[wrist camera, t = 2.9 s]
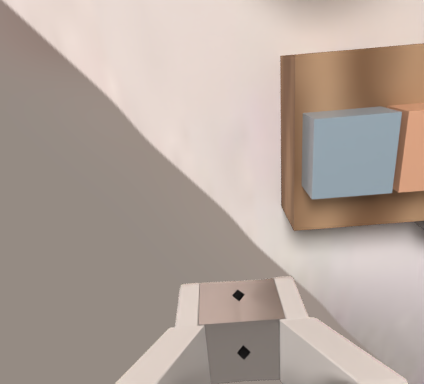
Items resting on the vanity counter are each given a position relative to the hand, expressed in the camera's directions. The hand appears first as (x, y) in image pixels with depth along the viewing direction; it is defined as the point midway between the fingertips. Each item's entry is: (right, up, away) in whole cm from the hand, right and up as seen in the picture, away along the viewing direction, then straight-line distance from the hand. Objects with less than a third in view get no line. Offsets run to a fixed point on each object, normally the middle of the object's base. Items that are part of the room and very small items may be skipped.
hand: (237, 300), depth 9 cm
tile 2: (+8, +6, +13) cm, 16 cm away
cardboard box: (+10, +8, +17) cm, 22 cm away
